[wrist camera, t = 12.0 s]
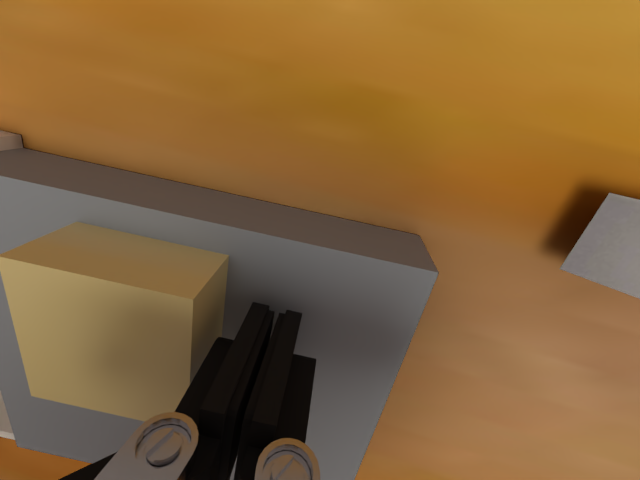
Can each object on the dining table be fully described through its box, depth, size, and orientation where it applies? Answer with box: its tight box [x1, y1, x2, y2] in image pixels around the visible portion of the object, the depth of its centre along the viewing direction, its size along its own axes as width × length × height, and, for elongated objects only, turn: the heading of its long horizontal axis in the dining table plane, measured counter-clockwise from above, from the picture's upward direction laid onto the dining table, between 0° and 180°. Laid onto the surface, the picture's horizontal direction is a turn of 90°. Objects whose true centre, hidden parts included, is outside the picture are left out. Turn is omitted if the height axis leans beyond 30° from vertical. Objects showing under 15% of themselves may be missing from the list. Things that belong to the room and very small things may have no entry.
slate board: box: [0, 148, 439, 480], centre depth 14 cm, size 14×16×3 cm
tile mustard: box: [0, 222, 229, 421], centre depth 10 cm, size 5×5×2 cm
